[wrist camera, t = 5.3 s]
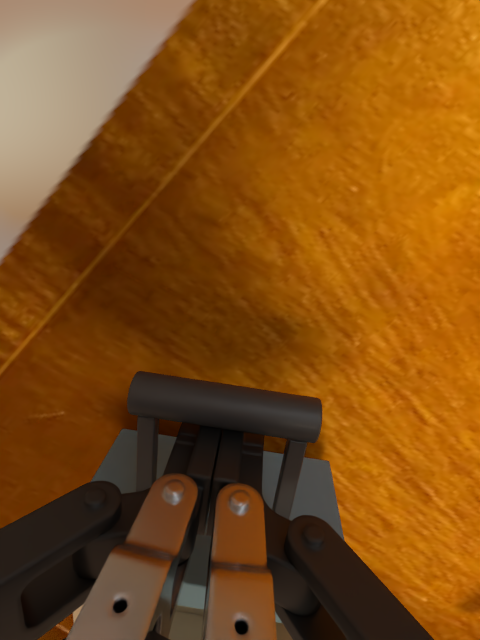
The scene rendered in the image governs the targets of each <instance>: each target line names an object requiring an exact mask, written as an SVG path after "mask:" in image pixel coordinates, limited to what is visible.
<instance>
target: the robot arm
mask: <svg viewBox="0 0 480 640" xmlns="http://www.w3.org/2000/svg"><path fill="white" fill-rule="evenodd" d="M263 447H264V435H259V434H253V433H247V432H240V431H234V430H228V429H221V428H215V427H208V426H202V425H196V424H189V423H183V422H182V424H181V427H180V430H179V432H178V435H177V438H176V440H175V443H174V446H173V449H172V451H171V454H170V457H169V459H168V462H167V465H166V468H165V470H164V473H163V475H162V476H161V477H160V478H158V479H157V480H156V481H155V482H154V483H153V485H152V486H151V487H150V488H148V489H146V490H143V491H139V492H132V493H124V494H121V492H120V489H119V488H118V487H117V486H116V485H115V484H113V483H111V482H108V481H93V482H89V483H87V484H84V485H82V486H80V487H79V488H77V489H75V490H73V491H71V492H69V493H67V494H65V495H64V496H62V497H60V498H58V499H56V500H54V501H52V502H50V503H48V504H47V505H45V506H43V507H41V508H39V509H37V510H35V511H33V512H31V513H30V514H28V515H26V516H24V517H22V518H20V519H18V520H16V521H14V522H13V523H11V524H9V525H7V526H5V527H3V528H1V529H0V640H37V639H38V638H40V637H41V636H42V635H44V634H45V633H46V632H48V631H49V630H50V629H52V628H53V627H54V626H56V625H57V624H58V623H59V622H61V621H62V620H63V619H65V618H66V617H67V616H69V615H70V614H71V613H73V612H74V611H75V610H76V609H78V608H79V607H80V606H82V605H83V604H84V605H83V607H82V609H81V611H80V613H79V615H78V617H77V618H76V620H75V622H74V624H73V626H72V628H71V630H70V632H69V634H68V636H67V638H65V639H63V640H170V639H168V638H169V633H170V629H171V625H172V621H173V618H174V614H175V611H176V608H177V604H178V601H179V598H180V594H181V591H182V587H183V584H184V581H185V577H186V574H187V570H188V567H189V564H190V560H191V554H192V552H193V550H194V546H195V541H196V537H197V534H200V535H204V533H205V528H206V522H207V517H208V512H209V518H208V526H207V534H206V535H207V536H211V544H210V552H209V559H208V567H207V578H206V589H205V600H204V611H203V622H202V632H201V640H277V634H276V619H275V612H276V614H277V615H278V617H279V618H280V620H281V622H282V623H283V625H284V626H285V628H286V630H287V631H288V633H289V634H290V636H291V637H292V639H293V640H434V639H433V638H432V637H431V636H430V635H429V633H428V632H427V631H426V630H425V629H424V628H423V627H422V626H421V625H420V624H419V622H418V621H417V620H416V619H415V618H414V617H413V616H412V615H411V614H410V613H409V611H408V610H407V609H406V608H405V607H404V606H403V605H402V604H401V603H400V602H399V600H398V599H397V598H396V597H395V596H394V595H393V594H392V593H391V592H390V591H389V589H388V588H387V587H386V586H385V585H384V584H383V583H382V582H381V581H380V580H379V579H378V577H377V576H376V575H375V574H374V573H373V572H372V571H371V570H370V569H369V568H368V566H367V565H366V564H365V563H364V562H363V561H362V560H361V559H360V558H359V557H358V555H357V554H356V553H355V552H354V551H353V550H352V549H351V548H350V547H349V546H348V544H347V543H346V542H345V541H344V540H343V539H342V538H341V537H340V536H339V535H338V533H337V532H336V531H335V530H334V529H333V528H332V527H331V526H330V525H329V524H328V523H327V522H325V521H324V520H322V519H321V518H318V517H316V516H312V515H301V516H298V517H296V518H294V519H293V520H292V521H291V520H289V519H287V518H285V517H283V516H281V515H279V514H277V513H276V512H274V511H273V510H272V509H271V508H270V507H269V506H268V505H267V504H266V502H265V500H264V498H263V495H262V474H263ZM209 507H210V510H209Z"/></svg>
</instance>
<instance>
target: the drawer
mask: <svg viewBox="0 0 480 640" xmlns="http://www.w3.org/2000/svg"><path fill="white" fill-rule="evenodd" d="M127 408H128V412H129V413H130V414H132V415H138V420H137V431H135V430H128V429H122V430H121V432H120V433H119V435H118V437H117V438H116V440H115V442H114V443H113V445H112V447H111V449H110V450H109V452H108V454H107V455H106V457H105V459H104V460H103V462H102V464H101V465H100V467H99V469H98V470H97V472H96V474H95V475H94V477H93V479H92V481H91V482H93V481H108V482H111V483H113V484H115V485H116V486H117V487H118V488H119V489H120V492H121V494H124V493H132V492H139V491H143V490H146V489H148V488H150V487H151V486H152V485H153V483H154V482H155V481H156V480H157V479H158V478H160V477H161V476H162V475H163V473H164V470H165V468H166V465H167V462H168V459H169V457H170V454H171V451H172V449H173V446H174V443H175V440H176V438H177V437H173V436H166V435H160V434H158V433H159V419H164V420H170V421H176V422H183V423H189V424H196V425H202V426H208V427H215V428H221V429H228V430H234V431H240V432H247V433H253V434H259V435H266V436H272V437H279V438H285V439H287V441H286V445H285V450H284V454H280V453H274V452H268V451H263V474H262V495H263V498H264V500H265V502H266V504H267V505H268V506H269V507H270V508H271V509H272V510H273V511H274V512H276V513H277V514H279V515H281V516H283V517H285V518H287V519H289V520H291V521H292V520H293V519H294V518H296V517H298V516H301V515H312V516H316V517H318V518H321V519H322V520H324V521H325V522H327V523H328V524H329V525H330V526H331V527H332V528H333V529H334V530H335V531H336V532H337V533H338V535H339V536H340V537H341V538H342V539H343V540H344V537H343V532H342V526H341V521H340V516H339V511H338V505H337V500H336V495H335V490H334V484H333V479H332V474H331V469H330V463H329V461H325V460H318V459H312V458H306V457H304V455H305V451H306V447H307V442H311V443H315V442H316V441H317V440H318V437H319V434H320V430H321V424H322V404H321V400H320V399H318V398H313V397H307V396H300V395H294V394H287V393H281V392H274V391H267V390H261V389H254V388H248V387H241V386H235V385H228V384H222V383H215V382H208V381H202V380H195V379H189V378H182V377H176V376H169V375H162V374H156V373H149V372H143V371H139V372H137V373H136V374H135V376H134V378H133V380H132V382H131V385H130V388H129V393H128V400H127ZM209 510H210V507H209ZM208 518H209V512H208V517H207V522H206V528H205V533H204V535H200V534H197V537H196V541H195V546H194V550H193V552H192V554H191V560H190V564H189V567H188V570H187V574H186V577H185V581H184V584H183V587H182V591H181V594H180V598H179V601H178V604H177V608H176V611H175V614H174V618H173V621H172V625H171V629H170V633H169V638H168V639H170V640H201V632H202V622H203V611H204V600H205V589H206V578H207V567H208V559H209V552H210V544H211V536H207V535H206V534H207V526H208ZM83 605H84V604H83ZM83 605H82V606H80V607H79V608H78V609H76V610H75V611H74V612H73V620H74V622H75V620H76V618H77V617H78V615H79V613H80V611H81V609H82V607H83ZM275 619H276V634H277V640H293V639H292V637H291V636H290V634H289V633H288V631H287V630H286V628H285V626H284V625H283V623H282V622H281V620H280V618H279V617H278V615H277V614H276V612H275Z"/></svg>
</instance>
